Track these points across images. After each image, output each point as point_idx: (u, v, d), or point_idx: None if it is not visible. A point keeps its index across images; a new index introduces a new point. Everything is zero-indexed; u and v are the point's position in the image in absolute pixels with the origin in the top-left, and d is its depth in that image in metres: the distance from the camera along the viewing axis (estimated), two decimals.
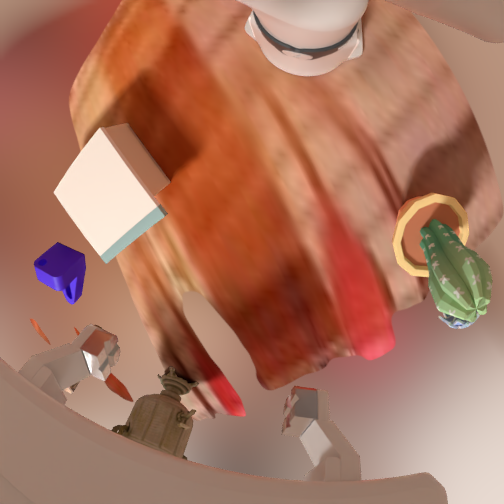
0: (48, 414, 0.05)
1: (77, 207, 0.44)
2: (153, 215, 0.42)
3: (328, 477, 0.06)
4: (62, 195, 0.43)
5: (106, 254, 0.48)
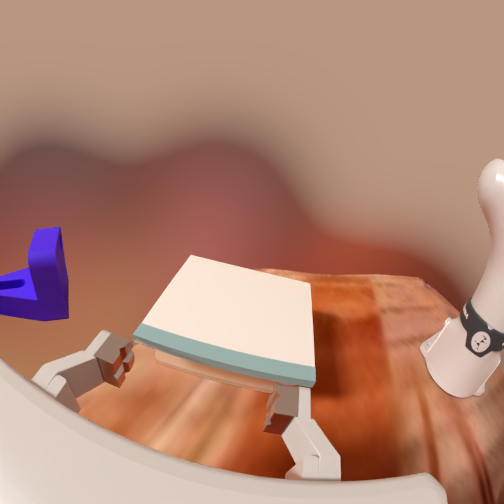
0: (48, 414, 0.05)
1: (200, 282, 0.36)
2: (300, 369, 0.26)
3: (305, 476, 0.06)
4: (197, 264, 0.40)
5: (155, 332, 0.26)
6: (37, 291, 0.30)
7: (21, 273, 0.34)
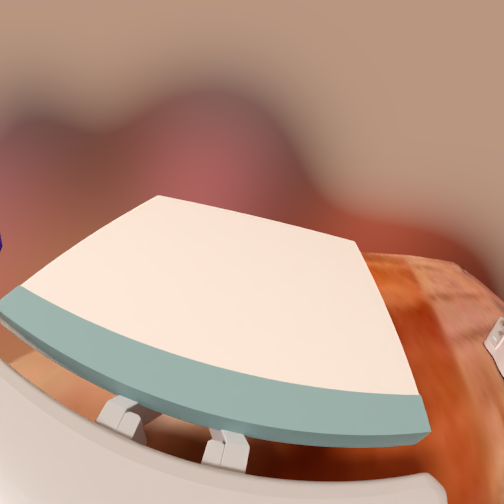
0: (48, 414, 0.05)
1: (162, 226, 0.19)
2: (393, 408, 0.08)
3: (206, 461, 0.06)
4: (165, 205, 0.23)
5: (35, 305, 0.09)
6: None
7: None
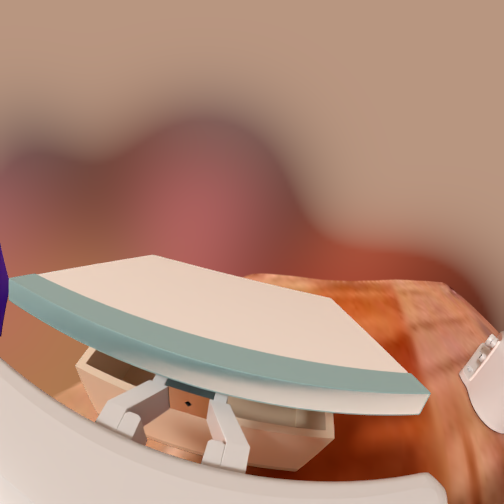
0: (48, 414, 0.05)
1: (161, 270, 0.21)
2: (388, 378, 0.09)
3: (206, 461, 0.06)
4: (161, 260, 0.25)
5: (51, 287, 0.10)
6: None
7: None
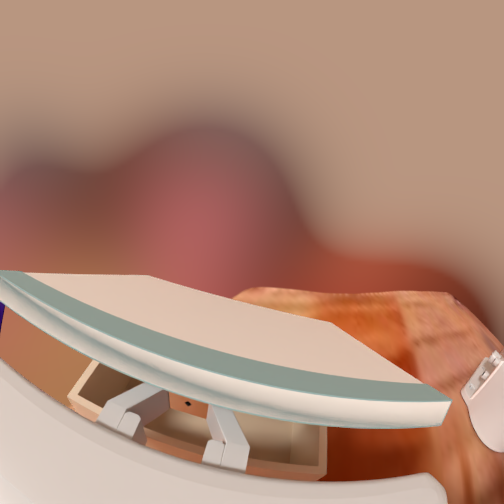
0: (48, 414, 0.05)
1: (155, 287, 0.20)
2: (404, 388, 0.08)
3: (206, 461, 0.06)
4: (155, 280, 0.24)
5: (36, 284, 0.09)
6: None
7: None
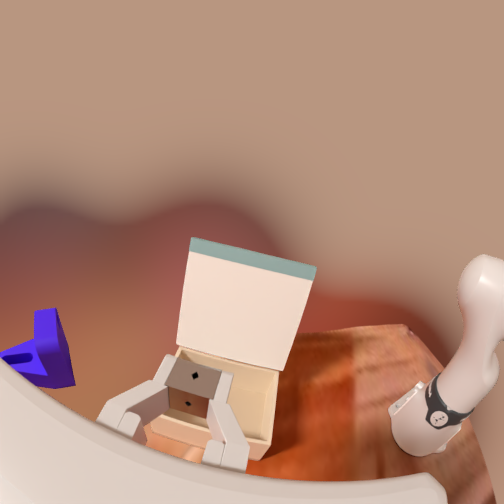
0: (48, 414, 0.05)
1: None
2: None
3: (206, 461, 0.06)
4: None
5: None
6: (47, 370, 0.33)
7: (27, 346, 0.36)
